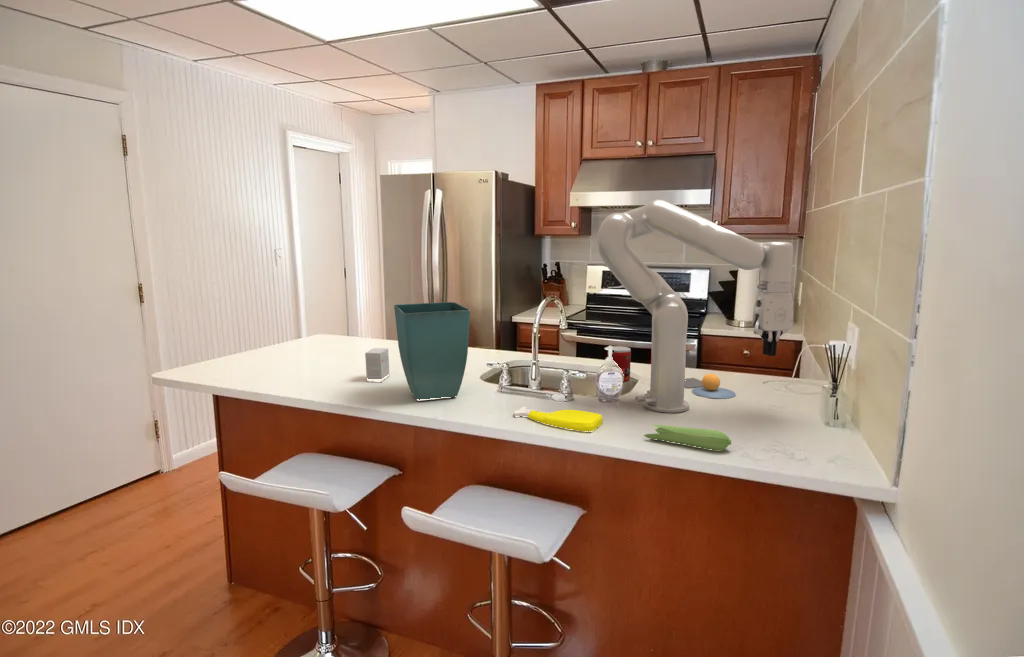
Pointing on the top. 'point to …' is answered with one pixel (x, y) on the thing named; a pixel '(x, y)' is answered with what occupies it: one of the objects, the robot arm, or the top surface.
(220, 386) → the top surface
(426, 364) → the flower pot
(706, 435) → the edible corn
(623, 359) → the canned food
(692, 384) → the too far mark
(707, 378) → the ball
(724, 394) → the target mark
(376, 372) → the small box
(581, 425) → the spray bottle
